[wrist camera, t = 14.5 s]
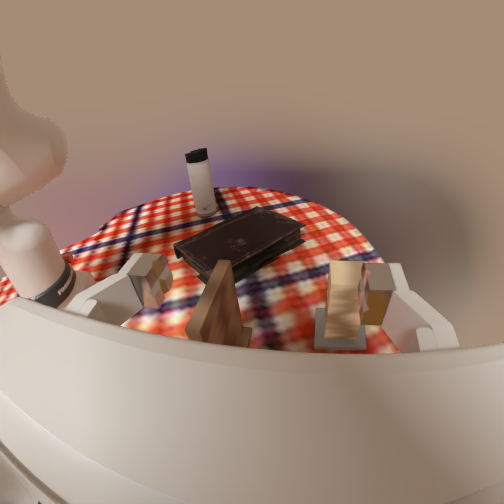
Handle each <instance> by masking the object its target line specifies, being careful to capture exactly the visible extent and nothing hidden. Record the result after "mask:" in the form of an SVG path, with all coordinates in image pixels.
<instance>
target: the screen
mask: <svg viewBox="0 0 504 504" xmlns="http://www.w3.org/2000/svg"><path fill="white" fill-rule="evenodd" d="M185 331H186V333H187V336H188V338H189V340H193V341H200V342H206V343H213V344H220V345H228V346H236V347H245V348H248V344H249V340H250V337H251V333H252V328H249V327H243V325H242V320H241V314H240V309H239V304H238V299H237V293H236V288H235V283H234V277H233V272H232V266H231V261H230V260H218V262H217V264H216V266H215V268H214V270H213V272H212V274H211V276H210V278H209V280H208V282H207V284H206V287H205V289H204V291H203V293H202V295H201V297H200V299H199V301H198V303H197V305H196V307H195V309H194V311H193V313H192V316H191V318H190V320H189V322H188V324H187V326H186V328H185Z"/></svg>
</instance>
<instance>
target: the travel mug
mask: <svg viewBox="0 0 504 504" xmlns="http://www.w3.org/2000/svg"><path fill="white" fill-rule="evenodd" d="M185 157H186V161H187V168H188V173H189V178H190V184H191V189H192V194H193V198H194V203H195V208H196V213H197V215H198V216H199V217H209V216H212V215H214V214H215V213H216V212H217V207H216V201H215V196H214V190H213V184H212V179H211V172H210V166H209V161H208V156H207V148H203V149H198V150H194V151H191V153H188V154H185Z"/></svg>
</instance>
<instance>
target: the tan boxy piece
mask: <svg viewBox="0 0 504 504" xmlns="http://www.w3.org/2000/svg"><path fill="white" fill-rule="evenodd" d="M363 263H365V261H330V265H329V277H328V288H327V298H326V307H325V321H324V339H353V340H356V338H357V335H358V331H359V327H360V315H359V310H360V305H359V304H358V296H357V293H358V284H359V280H360V279H361V278H362V275H361V268H362V265H363Z"/></svg>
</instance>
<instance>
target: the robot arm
mask: <svg viewBox="0 0 504 504" xmlns="http://www.w3.org/2000/svg"><path fill="white" fill-rule="evenodd" d="M66 159H67V142H66V138H65V135H64V133H63V131H62V130H61V128H60V127H59V126H58V125H57V124H56V123H55V122H54V121H52V120H50V119H47V118H43V117H39V116H36V115H34V114H31V113H29V112H28V111H26V110H25V109H23V108H22V107H21V106H20V105H19V104H18V103H17V102H16V101H15V100H14V98H13V97H12V95H11V94H10V92H9V90H8V87H7V84H6V81H5V77H4V73H3V69H2V63H1V58H0V265H1V267H2V268H3V270H4V272H5V273H6V275H7V276H8V278H9V280H10V281H11V283H12V285H13V286H14V288H15V289H16V291H17V295H18V297H17V298H14V299H12V300H10V301H8V302H6V303H5V304H3V305H1V306H0V504H504V342H502V343H496V344H491V345H483V346H477V347H469V348H461V349H460V346H459V343H458V340H457V337H456V334H455V331H454V328H453V325H452V324H451V323H449V322H448V321H447V320H446V319H445V318H444V317H443V316H442V315H441V314H439V313H438V312H437V311H436V310H435V309H434V308H433V307H431V306H430V305H429V304H428V303H427V302H425V301H424V300H423V299H422V298H421V297H420V296H418V295H417V294H416V293H415V292H414V291H410V290H409V287H408V284H407V281H406V278H405V276H404V273H403V270H402V267H401V265H400V264H399V263H387V264H384V263H363V265H362V268H361V275H362V278H361V279H360V280H359V284H358V293H357V296H358V304H359V305H360V310H359V315H360V324H361V325H380V326H381V327H382V328H383V330H384V331H385V332H386V334H387V335H388V336H389V338H390V339H391V340H392V342H393V343H394V344H395V346H396V347H397V348H398V350H399V351H400V352H401V353H393V354H326V353H304V352H289V351H276V350H264V349H254V348H245V347H236V346H228V345H220V344H213V343H206V342H200V341H193V340H187V339H181V338H175V337H170V336H165V335H159V334H154V333H149V332H144V331H140V330H135V329H131V328H126V327H122V326H120V325H122V324H123V323H124V322H125V321H127V320H128V319H129V318H130V317H132V316H133V315H134V314H135V313H137V312H138V311H139V310H141V309H142V308H143V307H150V308H160V306H161V304H162V302H163V301H164V299H165V296H164V294H165V293H167V292H168V291H169V290H170V288H171V287H172V282H173V276H172V272H171V270H170V269H169V268H168V267H167V264H168V260H167V257H166V256H165V255H163V254H151V253H134V254H133V255H132V256H131V258H130V259H129V260H128V261H127V262H126V264H125V265H124V266H123V267H122V268H121V270H120V271H119V272H118V273H117V274H113V275H111V276H109V277H108V278H106V279H104V280H102V281H97V282H95V280H94V278H93V276H92V275H91V274H90V273H89V272H87V271H74V270H73V268H72V267H71V266H70V265H69V264H68V263H72V262H73V256H72V255H71V253H70V252H69V253H67V254H65V255H62V256H61V254H60V251H59V249H58V247H57V245H56V243H55V240H54V238H53V236H52V233H51V231H50V229H49V228H48V227H47V226H46V225H45V224H44V223H42V222H41V221H38V220H34V219H22V218H19V217H17V216H16V215H14V214H13V213H12V211H11V210H10V209H9V206H10V205H12V204H14V203H16V202H17V201H19V200H21V199H23V198H25V197H27V196H29V195H30V194H33V193H35V192H36V191H39V190H40V189H41V188H43V187H44V186H45V185H47V184H48V183H50V182H51V181H52V180H53V179H55V178H56V177H57V176H59V175H60V174H61V173H62V171H63V169H64V166H65V163H66Z"/></svg>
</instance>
